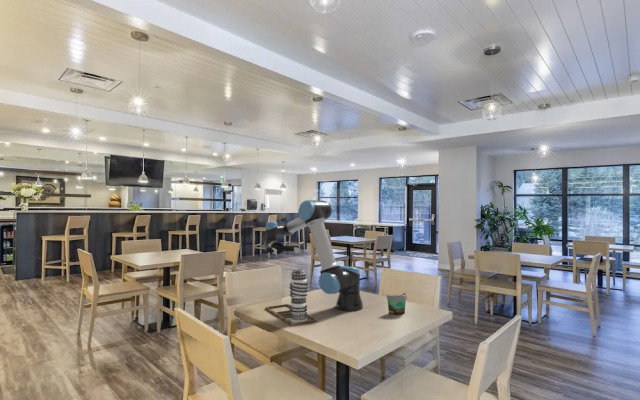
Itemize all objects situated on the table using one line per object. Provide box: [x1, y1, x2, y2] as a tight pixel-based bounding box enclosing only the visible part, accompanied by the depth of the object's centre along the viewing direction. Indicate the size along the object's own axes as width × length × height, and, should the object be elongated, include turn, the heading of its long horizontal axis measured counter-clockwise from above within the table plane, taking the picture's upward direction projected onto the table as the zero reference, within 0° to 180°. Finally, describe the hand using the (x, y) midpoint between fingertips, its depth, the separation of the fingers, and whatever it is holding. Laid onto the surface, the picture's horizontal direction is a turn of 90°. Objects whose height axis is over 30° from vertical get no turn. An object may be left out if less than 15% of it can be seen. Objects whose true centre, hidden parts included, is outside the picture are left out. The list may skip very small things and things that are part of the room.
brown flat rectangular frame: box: [265, 303, 318, 327], centre depth 187 cm, size 34×14×1 cm, turn 30°
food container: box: [386, 292, 408, 316], centre depth 190 cm, size 12×6×10 cm, turn 117°
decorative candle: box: [289, 268, 309, 322], centre depth 178 cm, size 9×9×25 cm
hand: (287, 251), depth 201 cm, fingers open, 13 cm apart
